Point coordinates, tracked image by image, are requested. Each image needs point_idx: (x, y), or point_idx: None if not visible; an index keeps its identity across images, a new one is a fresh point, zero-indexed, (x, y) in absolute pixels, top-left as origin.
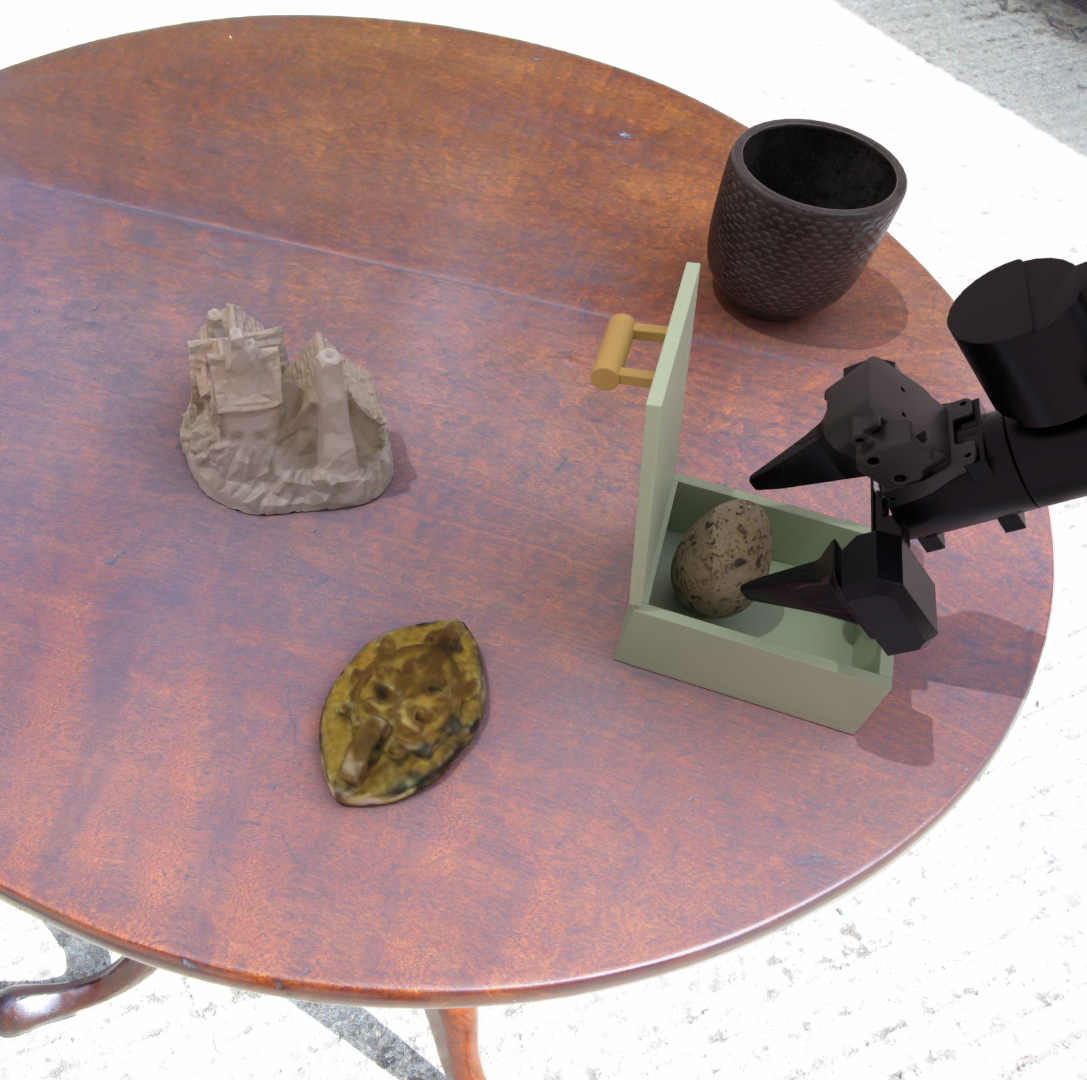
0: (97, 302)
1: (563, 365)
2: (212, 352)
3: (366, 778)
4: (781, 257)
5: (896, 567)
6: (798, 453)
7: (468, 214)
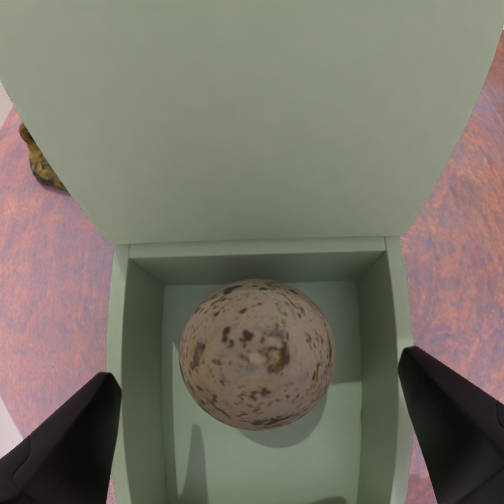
0: None
1: (481, 158)
2: None
3: (30, 144)
4: None
5: None
6: (474, 426)
7: None
